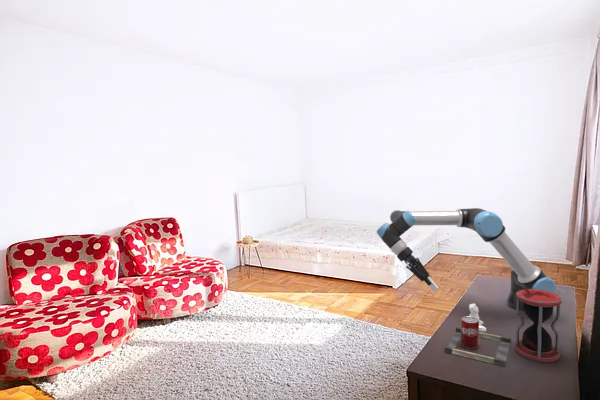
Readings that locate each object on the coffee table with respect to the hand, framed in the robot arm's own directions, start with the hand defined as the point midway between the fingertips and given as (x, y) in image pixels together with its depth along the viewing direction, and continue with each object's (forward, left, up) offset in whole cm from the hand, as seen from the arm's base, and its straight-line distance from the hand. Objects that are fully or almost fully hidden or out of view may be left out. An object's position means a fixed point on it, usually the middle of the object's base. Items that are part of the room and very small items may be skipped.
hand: (436, 289), depth 185 cm
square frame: (+7, +20, -21) cm, 29 cm away
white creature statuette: (-12, +15, -21) cm, 28 cm away
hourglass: (0, +41, -21) cm, 46 cm away
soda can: (+7, +16, -21) cm, 27 cm away
